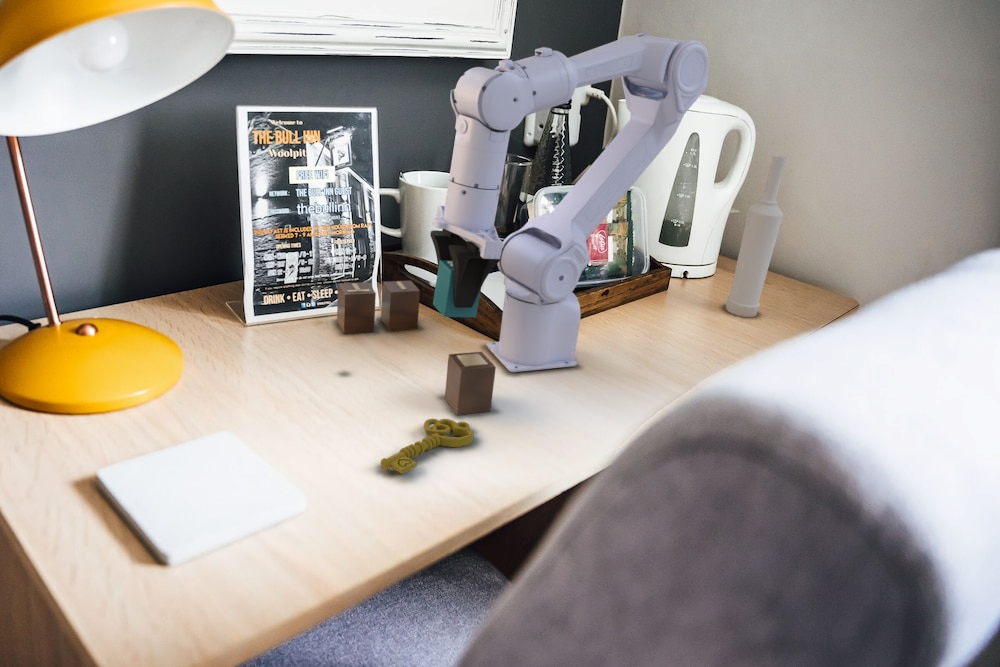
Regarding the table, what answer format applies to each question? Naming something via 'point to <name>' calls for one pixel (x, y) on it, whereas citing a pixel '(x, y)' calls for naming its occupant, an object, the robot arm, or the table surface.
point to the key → (430, 443)
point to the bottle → (757, 246)
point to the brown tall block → (469, 383)
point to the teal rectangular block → (449, 293)
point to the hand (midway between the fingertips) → (455, 299)
